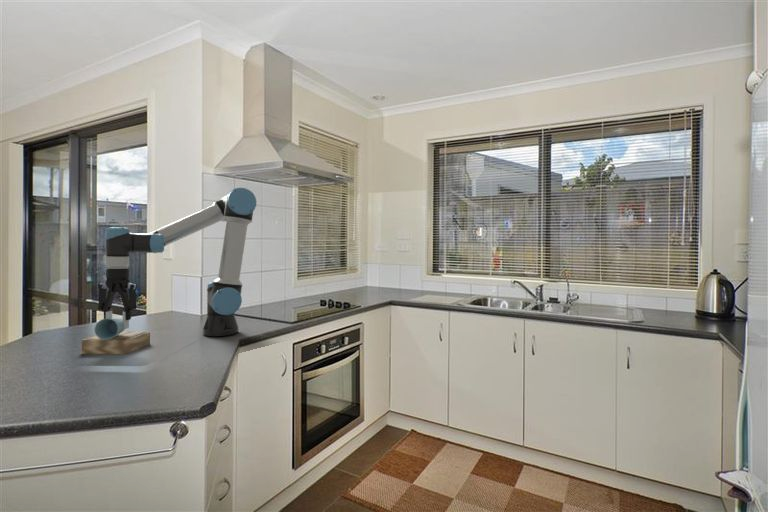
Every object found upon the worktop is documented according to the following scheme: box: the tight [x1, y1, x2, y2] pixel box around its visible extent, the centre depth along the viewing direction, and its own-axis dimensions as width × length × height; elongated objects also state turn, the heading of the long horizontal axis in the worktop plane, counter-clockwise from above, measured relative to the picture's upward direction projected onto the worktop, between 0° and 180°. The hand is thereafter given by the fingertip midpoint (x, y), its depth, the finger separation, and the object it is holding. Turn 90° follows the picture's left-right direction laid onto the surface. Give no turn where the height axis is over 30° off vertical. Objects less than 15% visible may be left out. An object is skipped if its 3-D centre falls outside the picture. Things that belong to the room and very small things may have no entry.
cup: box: [94, 318, 126, 340], centre depth 156 cm, size 8×8×10 cm
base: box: [81, 330, 151, 355], centre depth 161 cm, size 16×16×5 cm
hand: (117, 328), depth 161 cm, fingers closed on cup, 6 cm apart
